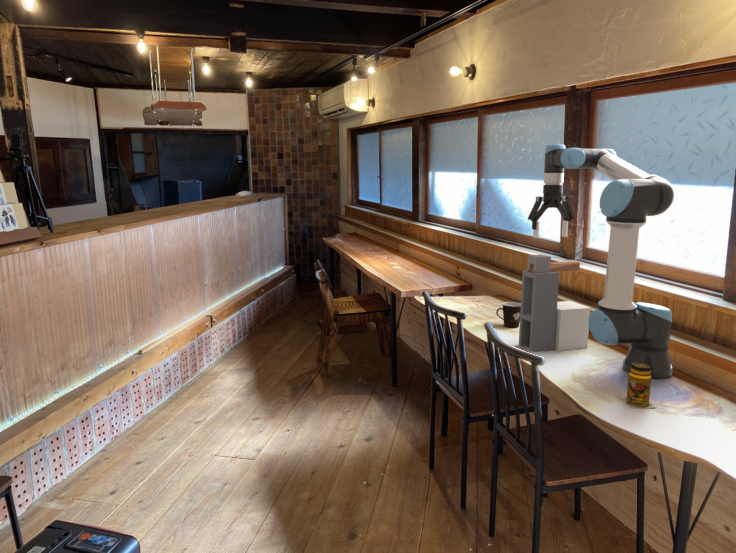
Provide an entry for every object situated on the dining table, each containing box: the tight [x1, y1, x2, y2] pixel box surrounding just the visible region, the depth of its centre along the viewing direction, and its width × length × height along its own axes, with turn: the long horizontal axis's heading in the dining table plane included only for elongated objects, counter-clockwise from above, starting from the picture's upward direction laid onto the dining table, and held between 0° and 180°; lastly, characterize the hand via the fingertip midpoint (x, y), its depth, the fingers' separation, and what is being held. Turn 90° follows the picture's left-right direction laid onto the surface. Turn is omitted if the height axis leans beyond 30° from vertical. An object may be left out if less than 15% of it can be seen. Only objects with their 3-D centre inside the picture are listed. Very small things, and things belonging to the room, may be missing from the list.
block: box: [554, 300, 591, 351], centre depth 214 cm, size 12×13×16 cm
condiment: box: [618, 363, 657, 409], centre depth 160 cm, size 7×8×12 cm
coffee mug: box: [495, 301, 521, 329], centre depth 241 cm, size 12×9×10 cm
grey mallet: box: [526, 254, 581, 273], centre depth 208 cm, size 6×20×6 cm, turn 106°
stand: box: [518, 269, 560, 353], centre depth 210 cm, size 9×10×30 cm
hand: (550, 237), depth 221 cm, fingers open, 13 cm apart
